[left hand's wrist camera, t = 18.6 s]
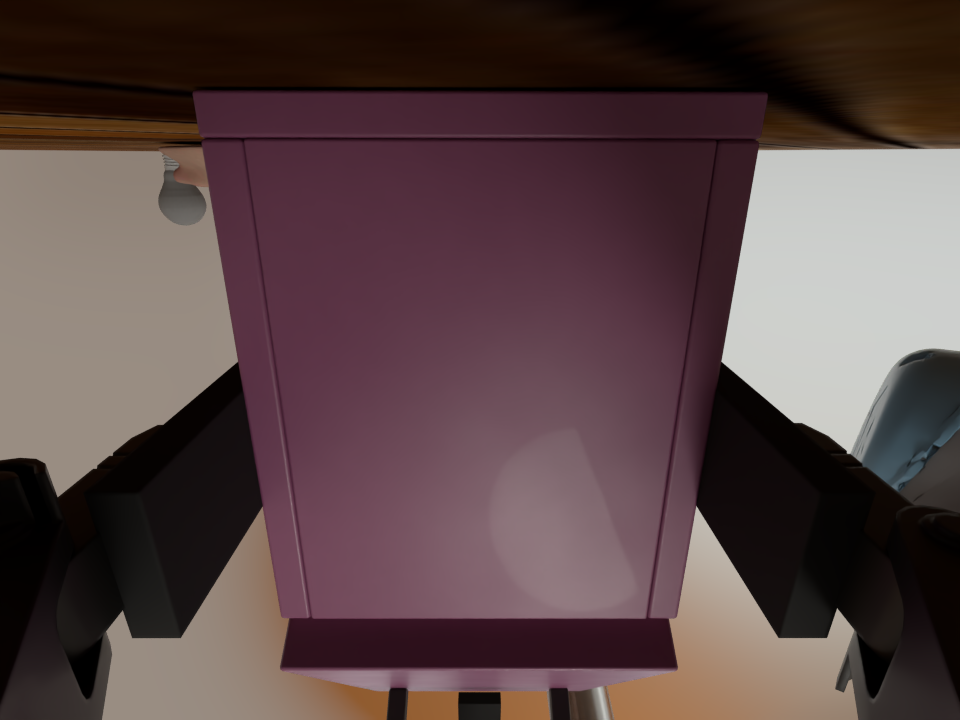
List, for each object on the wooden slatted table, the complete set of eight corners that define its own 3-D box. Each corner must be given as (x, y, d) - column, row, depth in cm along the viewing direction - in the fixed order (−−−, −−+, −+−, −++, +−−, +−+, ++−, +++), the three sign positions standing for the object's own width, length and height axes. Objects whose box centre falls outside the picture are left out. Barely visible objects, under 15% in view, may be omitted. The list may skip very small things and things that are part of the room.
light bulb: (185, 151, 69) (199, 227, 73) (203, 152, 75) (216, 222, 79) (138, 151, 69) (155, 227, 72) (160, 151, 74) (175, 223, 78)
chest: (596, 140, 21) (577, 394, 24) (363, 139, 21) (380, 393, 24) (771, 90, 8) (677, 620, 12) (189, 88, 8) (280, 619, 12)
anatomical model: (157, 207, 35) (328, 202, 39) (143, 144, 34) (322, 146, 38) (182, 195, 47) (313, 192, 51) (172, 148, 45) (308, 149, 49)
